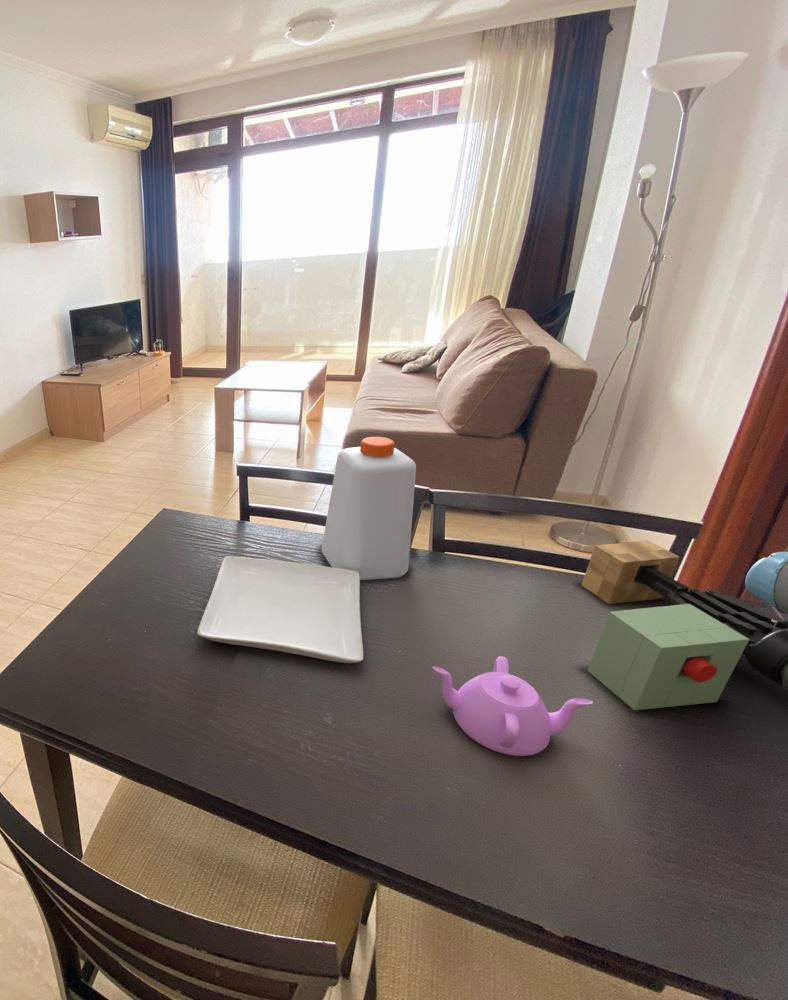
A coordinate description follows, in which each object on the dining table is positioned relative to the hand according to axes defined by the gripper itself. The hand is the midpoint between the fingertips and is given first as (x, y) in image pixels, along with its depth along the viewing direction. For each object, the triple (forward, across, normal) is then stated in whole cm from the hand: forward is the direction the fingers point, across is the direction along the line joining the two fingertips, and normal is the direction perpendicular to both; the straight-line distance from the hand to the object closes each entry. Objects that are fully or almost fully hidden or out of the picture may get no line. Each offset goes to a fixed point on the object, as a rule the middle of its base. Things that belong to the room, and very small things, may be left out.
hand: (644, 573), depth 95 cm
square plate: (+7, -62, -7) cm, 63 cm away
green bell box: (-19, -16, -6) cm, 25 cm away
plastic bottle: (+22, -40, -7) cm, 46 cm away
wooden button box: (+3, 0, -6) cm, 7 cm away
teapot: (-23, -41, -7) cm, 48 cm away
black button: (+1, 0, -1) cm, 2 cm away
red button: (-23, -16, 0) cm, 28 cm away
